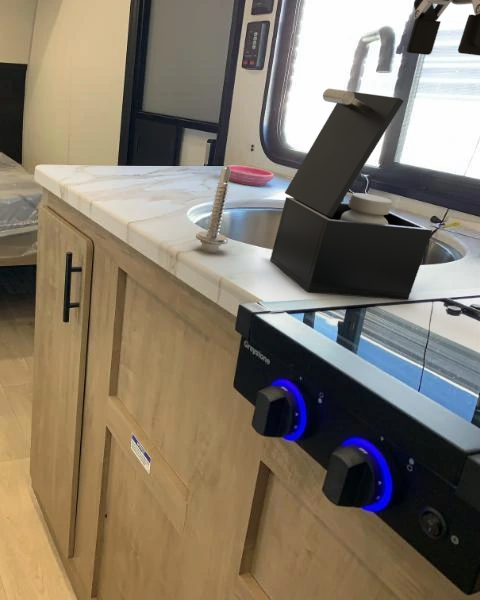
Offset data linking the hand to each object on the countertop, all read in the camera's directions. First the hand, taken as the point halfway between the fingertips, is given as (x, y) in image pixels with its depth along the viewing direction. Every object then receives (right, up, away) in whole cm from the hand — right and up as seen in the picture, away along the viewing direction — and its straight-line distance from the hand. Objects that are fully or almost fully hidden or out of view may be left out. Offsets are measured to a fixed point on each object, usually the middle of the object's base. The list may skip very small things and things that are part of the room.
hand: (443, 53), depth 74 cm
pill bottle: (-6, -27, +12) cm, 30 cm away
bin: (-8, -27, +12) cm, 31 cm away
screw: (-25, -23, +18) cm, 38 cm away
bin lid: (-11, -11, +5) cm, 16 cm away
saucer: (-1, 0, +82) cm, 82 cm away
